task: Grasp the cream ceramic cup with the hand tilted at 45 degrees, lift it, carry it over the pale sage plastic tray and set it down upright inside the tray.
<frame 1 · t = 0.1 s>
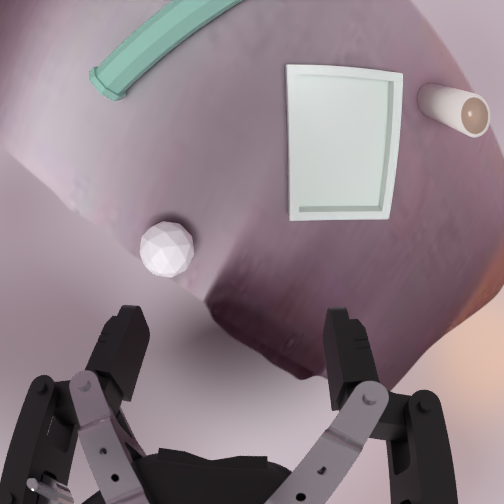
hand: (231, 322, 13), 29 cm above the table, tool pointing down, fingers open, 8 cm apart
geometric ball: (173, 234, 45), on the table
cup: (432, 100, 31), on the table
tray: (341, 142, 36), on the table
green faceted rod: (189, 20, 28), on the table
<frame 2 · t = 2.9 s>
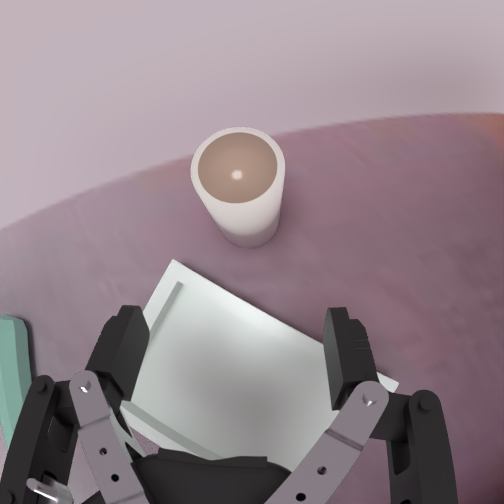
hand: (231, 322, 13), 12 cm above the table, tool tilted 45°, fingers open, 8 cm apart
cup: (248, 218, 25), on the table
tray: (244, 397, 23), on the table
green faceted rod: (36, 422, 23), on the table
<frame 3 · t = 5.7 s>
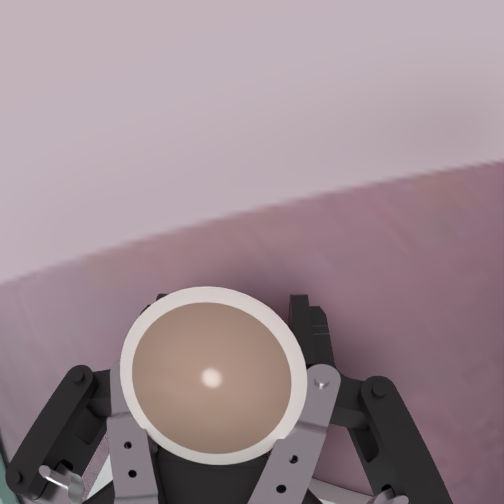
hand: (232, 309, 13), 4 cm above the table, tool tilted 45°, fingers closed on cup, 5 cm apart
cup: (241, 340, 17), on the table, touching gripper
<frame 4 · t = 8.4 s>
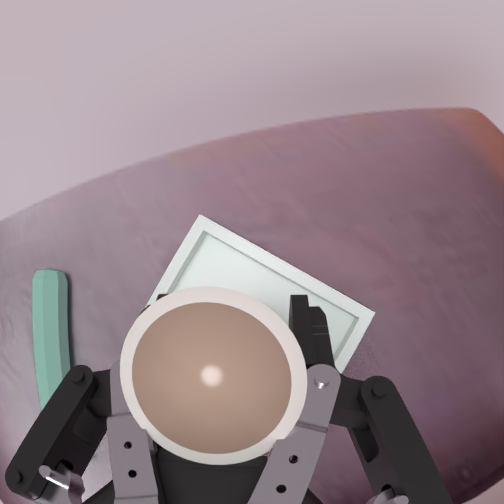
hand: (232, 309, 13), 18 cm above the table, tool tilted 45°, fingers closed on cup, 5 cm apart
cup: (241, 340, 17), point 14 cm above the table, touching gripper
tray: (252, 325, 31), on the table
green faceted rod: (65, 367, 31), on the table
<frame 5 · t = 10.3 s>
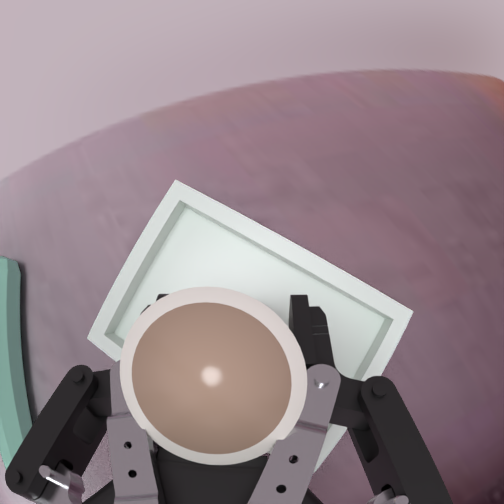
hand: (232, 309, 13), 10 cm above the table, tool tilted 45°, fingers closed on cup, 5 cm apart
cup: (241, 340, 17), point 5 cm above the table, touching gripper
tray: (246, 330, 22), on the table
green faceted rod: (22, 377, 23), on the table
when the fingers open (6 cm above the table, at t = 11.6 s): cup drops 1 cm, resting on tray.
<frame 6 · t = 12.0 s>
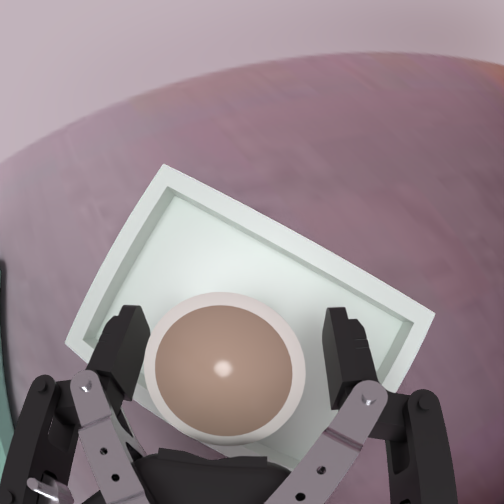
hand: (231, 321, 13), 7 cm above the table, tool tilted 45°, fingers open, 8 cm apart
cup: (244, 340, 18), point 1 cm above the table, touching tray
tray: (244, 337, 19), on the table
green faceted rod: (3, 382, 20), on the table
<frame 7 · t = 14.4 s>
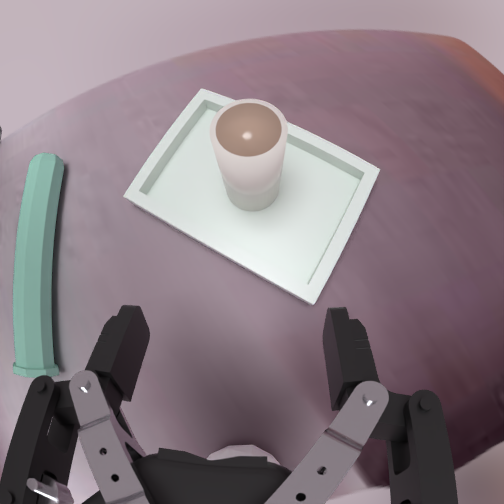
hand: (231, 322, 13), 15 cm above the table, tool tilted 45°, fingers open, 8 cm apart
geometric ball: (245, 463, 25), on the table
cup: (252, 185, 28), point 1 cm above the table, touching tray
tray: (251, 188, 29), on the table
green faceted rod: (48, 262, 30), on the table
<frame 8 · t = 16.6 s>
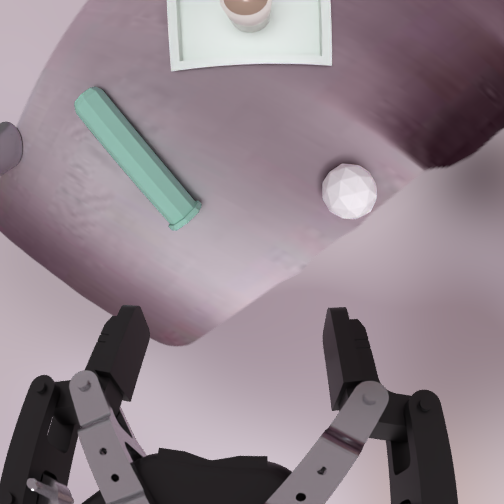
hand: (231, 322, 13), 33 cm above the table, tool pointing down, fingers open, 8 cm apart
geometric ball: (343, 180, 43), on the table
cup: (250, 15, 29), point 1 cm above the table, touching tray
tray: (249, 16, 30), on the table
green faceted rod: (139, 148, 42), on the table
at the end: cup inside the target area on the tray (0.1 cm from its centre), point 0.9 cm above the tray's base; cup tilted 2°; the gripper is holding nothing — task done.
